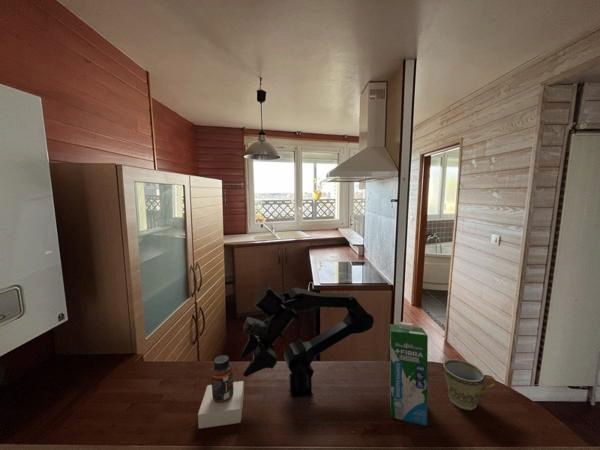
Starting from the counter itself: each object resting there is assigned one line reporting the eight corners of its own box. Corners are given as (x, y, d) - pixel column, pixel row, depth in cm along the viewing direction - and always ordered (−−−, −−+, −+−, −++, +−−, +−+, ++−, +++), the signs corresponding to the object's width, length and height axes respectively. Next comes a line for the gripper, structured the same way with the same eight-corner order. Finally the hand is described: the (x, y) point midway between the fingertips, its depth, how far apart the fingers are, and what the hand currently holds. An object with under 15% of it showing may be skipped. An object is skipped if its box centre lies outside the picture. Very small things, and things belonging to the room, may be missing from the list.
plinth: (243, 392, 77) (243, 380, 77) (240, 422, 66) (239, 408, 66) (208, 397, 76) (207, 385, 75) (198, 428, 65) (197, 414, 65)
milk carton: (422, 400, 72) (422, 320, 71) (427, 426, 64) (427, 335, 62) (390, 393, 75) (389, 316, 74) (390, 417, 67) (390, 330, 65)
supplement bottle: (233, 401, 69) (231, 363, 68) (211, 406, 67) (209, 367, 67) (234, 386, 74) (232, 351, 74) (213, 390, 73) (211, 354, 72)
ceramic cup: (446, 410, 69) (447, 376, 68) (440, 386, 78) (440, 356, 78) (502, 422, 64) (503, 387, 64) (488, 395, 74) (488, 364, 73)
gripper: (254, 298, 82) (222, 335, 79) (263, 322, 64) (221, 371, 61) (278, 317, 84) (247, 353, 82) (292, 344, 67) (254, 393, 64)
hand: (242, 365), depth 72 cm, fingers open, 9 cm apart
